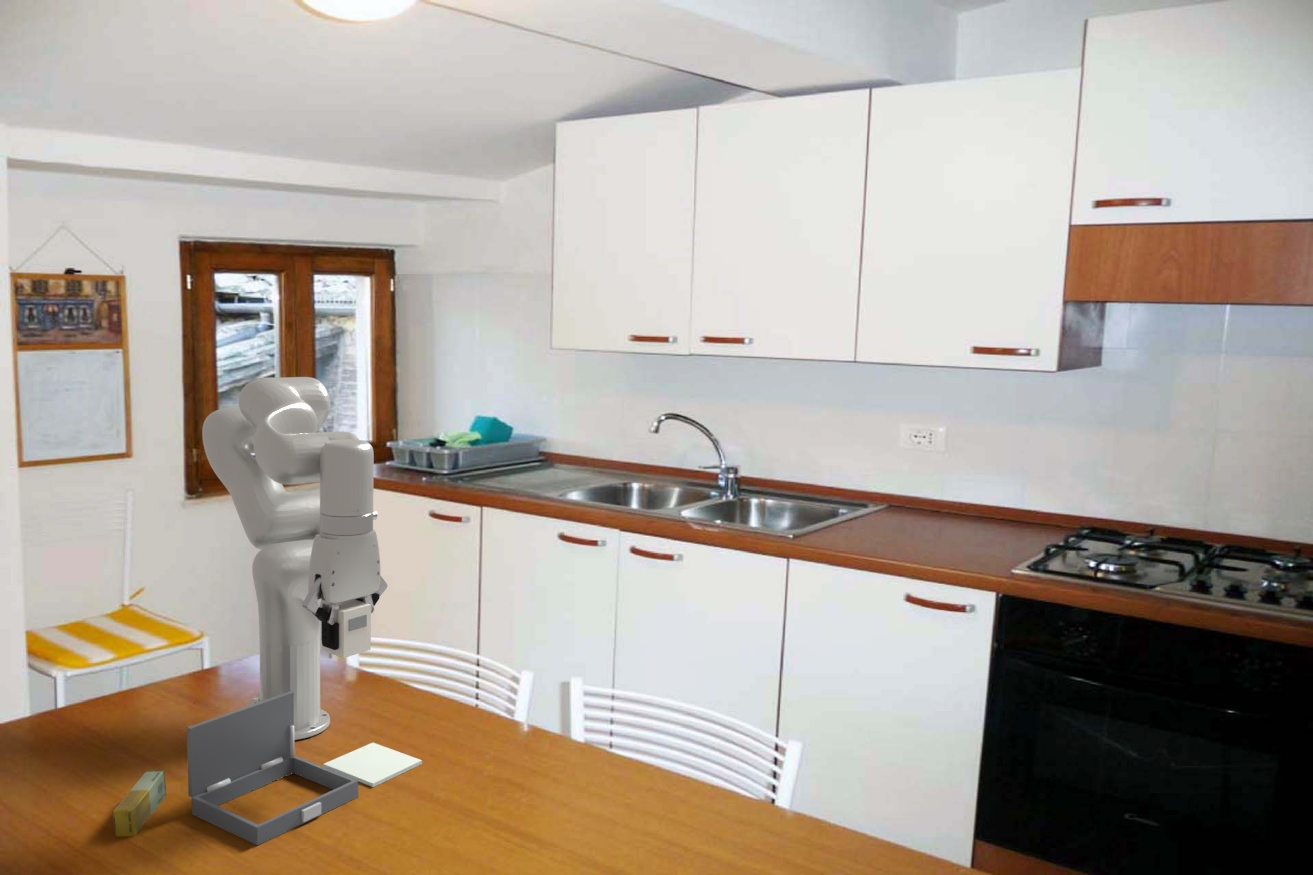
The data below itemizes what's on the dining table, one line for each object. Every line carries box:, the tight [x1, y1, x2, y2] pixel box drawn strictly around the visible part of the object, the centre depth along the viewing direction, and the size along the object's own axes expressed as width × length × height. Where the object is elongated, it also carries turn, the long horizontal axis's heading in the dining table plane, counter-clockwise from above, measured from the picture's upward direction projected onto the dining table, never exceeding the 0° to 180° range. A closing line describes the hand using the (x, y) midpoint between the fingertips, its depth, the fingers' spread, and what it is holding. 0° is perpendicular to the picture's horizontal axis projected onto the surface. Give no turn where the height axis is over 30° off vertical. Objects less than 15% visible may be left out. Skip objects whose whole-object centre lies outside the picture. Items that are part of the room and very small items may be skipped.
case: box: [186, 691, 359, 846], centre depth 150 cm, size 16×17×12 cm
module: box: [321, 599, 372, 659], centre depth 158 cm, size 5×5×7 cm
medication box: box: [113, 769, 167, 837], centre depth 147 cm, size 12×3×4 cm, turn 6°
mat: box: [322, 742, 423, 788], centre depth 165 cm, size 11×10×1 cm
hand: (346, 641), depth 158 cm, fingers closed on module, 5 cm apart
